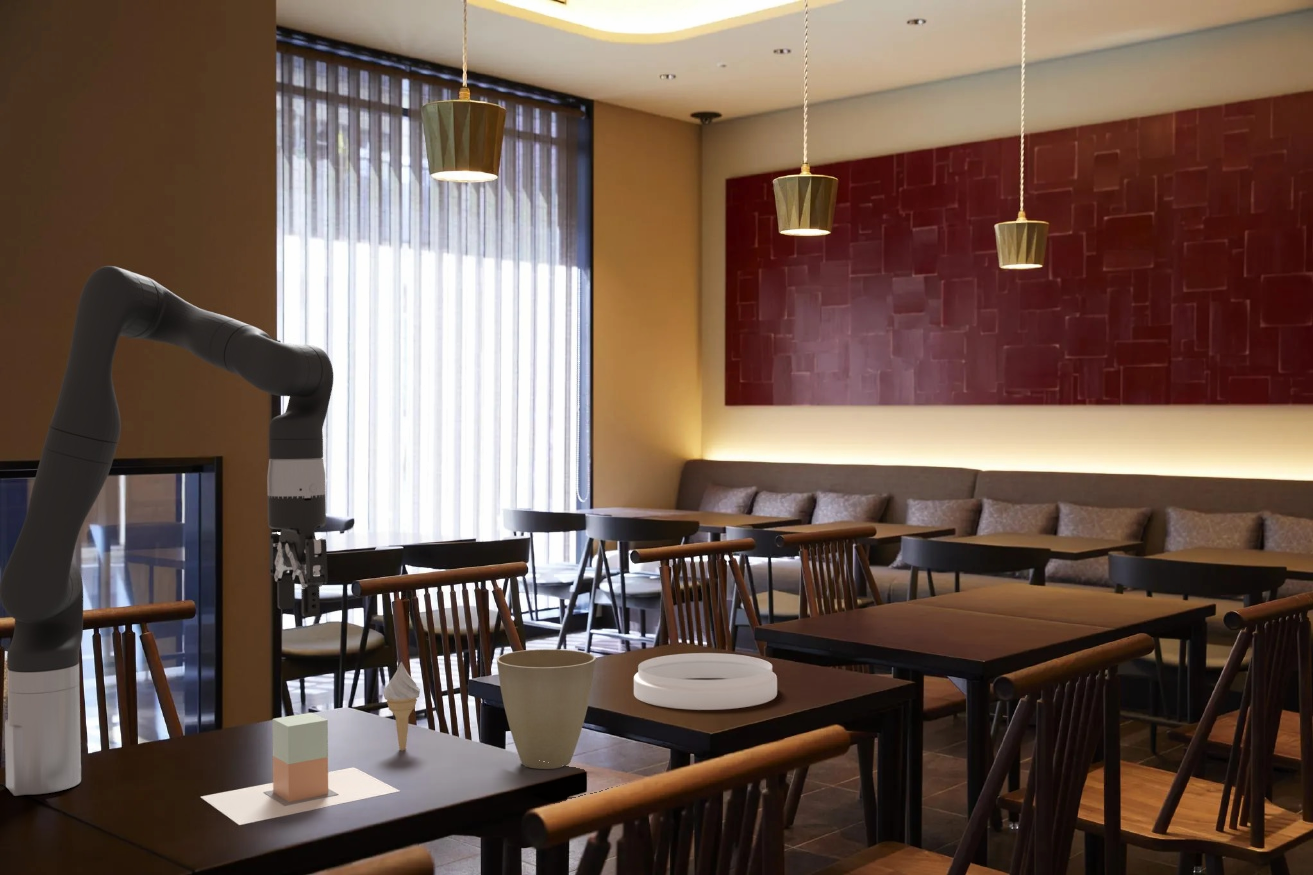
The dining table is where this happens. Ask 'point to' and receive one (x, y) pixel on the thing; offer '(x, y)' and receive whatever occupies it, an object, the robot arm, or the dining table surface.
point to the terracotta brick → (300, 779)
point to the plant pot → (546, 702)
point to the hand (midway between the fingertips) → (298, 612)
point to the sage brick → (300, 738)
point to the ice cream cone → (401, 701)
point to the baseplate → (268, 805)
